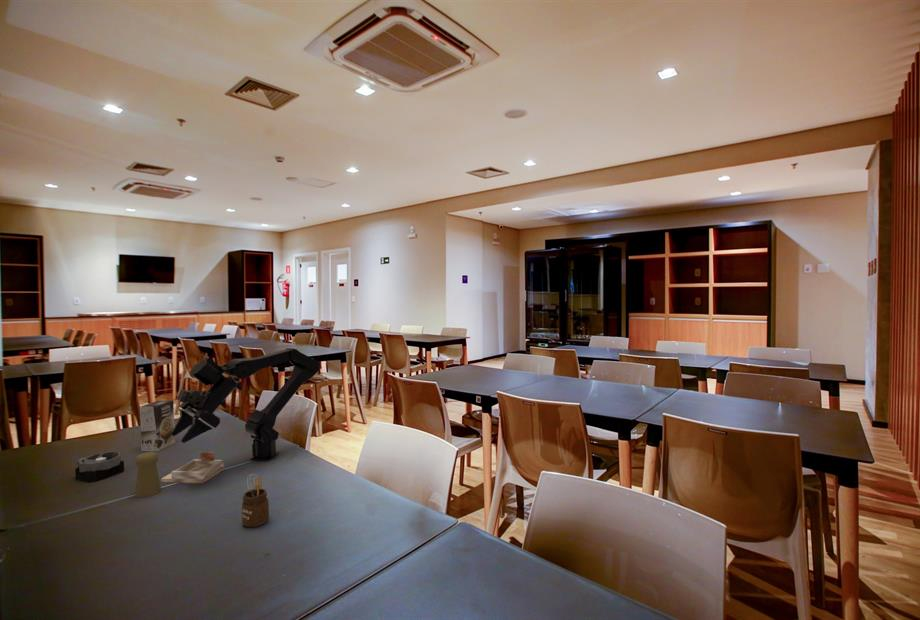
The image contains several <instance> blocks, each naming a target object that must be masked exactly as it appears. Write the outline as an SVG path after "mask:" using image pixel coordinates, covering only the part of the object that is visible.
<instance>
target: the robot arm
mask: <svg viewBox="0 0 920 620" xmlns="http://www.w3.org/2000/svg"><path fill="white" fill-rule="evenodd" d="M287 362H289V363H290V364H291V365H292V366H293V368H292V373H291V376H290V377H289V378H288V379H287V380H286V382H285V383H284V384H283V385H282V387H280V389H279V390H278V392H277V393H276V394H275V395H274V396H273V397H272V398H271V400H270V401H269V402H268V403H267V405H266V406H265V407H264V408H263V409H260V410H259V409H255V410H254V411H253V412H252V413H251V415H250V416H249V417H247V418H246V420H247V421H246V422H245V424H244V425H245V428H244V429H245V432H246V433H247V434H248V435H249V436H250V438H251V439H253V441H252V444H251V451H252V452H251V453H252V455H251V456H252V457H251V458H250V460H251V461H270V460H271V459H273V458H275V457H276V456H277V455H279V451H277V442H276V441H277V440H278V439H279V438H278V437H279V435H280V432H278V431H277V430H276V429H274V426H275V425H276V420H277V417H278V415H279V414H280V413H281V411H282V410H283V409H284V408H285V407H286V405H287V404H288V402H289V401H290V400H291V399H292V398H293V396H294V395H295V394H296V393H297V392H298V390H299V389H300V388H301V386H302V385H303V384H305V382H307V381H309V380H310V379H312V378H313V377H314V376H316V374H318V372H319V371H320V369H321V364H320V361H319V360H318V359H317V358H312V357H310V356H308V355H307V354H304V353H302V352H301V351H299V350H298V349H297V348H292V347H291V348H290V347H286V348H285V349H283V350H278V351H275V352H272V353H271V352H270V353H267V354H263V355H260V356H256V357H248V358H247V357H246V358H245V357H244V358H234V359H231V360H229V361H228V362H227V363H225V364H222V365H219V364H218V363H216V362H215V361H214V360H213V359H212V358H211V357H209V356H206V357H205V358H204V359H202V360H201V361H198V362H197V363H196V364H194V365H193V367H191V369H190V371H189V375H190V376H192V377H193V378H195V379H196V380H198V381H199V382H200V383H201V384H203V385H204V386H210V387H209V388H208V389H207V390H202V391H201V392H200V391H199V390H195V389H192V390H187V389H182V388H181V389H180V390H179V393H178V395H177V398H176V401H179V402H181V404H179V405H178V407H179V409H178V411H179V417H178V420H177V421H176V424H175V425H174V429H173V431H172V433H171V435H173V436H177V435H178V434H180V433H181V432H183V431H185V430H186V429H187V431H185V434H184V435H183V436H182V437H181V438H182V439H181V440H180V442H181V443H183V444H185V443H187V442H189V441H191V440H193V439H194V438H196V437H198V436H201V435H202V434H204V433H207V432H208V431H211V430H213V428H215V429H217V428H218V426H219V425H220V424H221V418H220V417H219V416H217V415H216V414H215V412H216V410H217V409H218V408H219V407H220V406H221V407H223V406H224V405H225V402H224V401H226V399H228V397H229V396H230V394H232V393H233V391H234V390H238V391H243V385H242V384H243V382H242V381H240V380H235V379H241V380H244V379H247V378H249V377H251V376H253V375H255V374H256V373H257V372H259V371H260V370H263V369H266V368H270V367H274V366H276V365H281V364H282V363H283V364H284V363H287ZM223 374H224V375H223ZM225 375H228V376H225ZM234 378H235V379H234Z"/></svg>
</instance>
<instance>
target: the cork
mask: <svg viewBox="0 0 920 620" xmlns="http://www.w3.org/2000/svg"><path fill="white" fill-rule="evenodd" d="M158 462H159V455H158V453H156V451H145V452H142V453H140V454H138V455H137V456H136V457H135V466H136V467H137V471H136V473H137V474H136V480H135V481H136V482H135V491H134V497H135V498H148V497H150V496H153V495H157V494H158V493H159V494H160V492H162V486H161V480H160V476H159V472H158V467H157V463H158Z"/></svg>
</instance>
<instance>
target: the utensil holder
mask: <svg viewBox="0 0 920 620" xmlns="http://www.w3.org/2000/svg"><path fill="white" fill-rule="evenodd" d="M254 475H255V476H254ZM251 476H253V479H254V483H253V485H254V489H253V488H252V489H249V490H248V491H246V492H244V493H243V495H242V503H241V523H242V525H243V526H244V527H247V528H255V527H259V526H261V525H264V524H265V523H266V522H268V520H269V518H270V511H269V510H270V507H269V506H270V504H269V498H268V497H267V495H268V494H267V490H266V489H265V488H262V487H263V475H260V476H258V477H257V474H255V473H251V474H249V475H247V479H246V480H247V481H246V483H247V484H249V478H250V477H251ZM249 485H250V486H249ZM249 485H247V488H250V487H253V486H252V484H249Z"/></svg>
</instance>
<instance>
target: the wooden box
mask: <svg viewBox="0 0 920 620" xmlns="http://www.w3.org/2000/svg"><path fill="white" fill-rule="evenodd" d="M224 470H225V466H224V459H215V451H201V452H200V459H196V458H194V459H192V460H190V461H188V462H186V463H185V464H183V465H182V466H180V467H178V468H176V469H174V470H172V471H171V473H169V474H167V475H165V476H163V477H162V478H160V483H180V484H181V483H184V484H185V483H187V484H188V483H189V484H204V483H205V482H207V481H209V480H210V479H211V478H213V477H215V476H216V475H217V474H219V473H221V472H222V471H224Z"/></svg>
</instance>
